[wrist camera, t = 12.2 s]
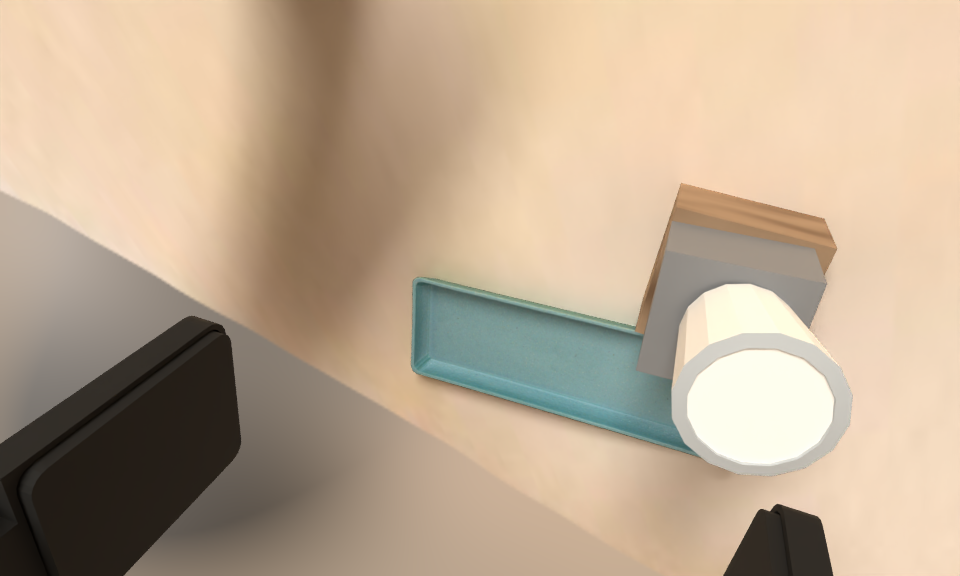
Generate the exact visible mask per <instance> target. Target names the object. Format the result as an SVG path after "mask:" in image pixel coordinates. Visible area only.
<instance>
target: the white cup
mask: <svg viewBox="0 0 960 576" xmlns="http://www.w3.org/2000/svg"><path fill="white" fill-rule="evenodd" d="M671 395H672V420H673V422H674V424H675V426H676V427H677V429H678V431H679V433H680V435H681V437H682V439H683V441H684V443H685V444H686V445H687V446H688V447H690V448H691V449H692V450H693V451H694V452H696V453H697V454H698V455H699V456H700V457H702V458H703V459H704V460H705V461H706V462H707V463H710V464H712V465H715V466H718V467H720V468H723V469H726V470H728V471H731V472H734V473H736V474H742V475H759V476H775V475H780V474H784V473H788V472H792V471H796V470H800V469H804V468H806V467H808V466H809V465H811V464H812V463H814V462H815V461H817V460H819V459H820V458H822V457H823V456H825V455H826V454H828V453H829V452H831V451H832V450H833V449H834V448H835V446H836V445H837V443H838V442H839V440H840V439H841V437H842V436H843V434H844V433H845V431H846V430H847V428H848V427H849V425H850V418H851V408H852V399H853V395H852V392H851V390H850V388H849V385H848V383H847V381H846V378H845V376H844V374H843V371H842V369H841V367H840V366H839V365H838V363H837V362H836V361H835V360H834V359H833V357H832V356H831V355H830V354H829V353H828V352H827V350H826V349H825V348H824V347H823V346H822V344H821V343H820V342H819V341H818V340H817V339H816V337H815V336H814V335H813V334H812V333H811V331H810V330H809V329H808V328H807V327H806V325H805V324H804V323H803V322H802V321H801V320H800V318H799V317H798V316H797V315H796V314H795V312H794V311H793V310H792V309H791V308H790V307H789V305H787V304H786V303H785V302H784V301H783V300H782V299H781V298H779V297H778V296H777V295H776V294H775V293H774V292H772V291H770V290H767V289H764V288H761V287H758V286H755V285H752V284H725V285H723V286H720V287H717V288H715V289H712V290H709V291H707V292H704V293H703V294H702V295H701V296H700V297H698V298H697V299H696V300H695V301H694V302H693V303H692V304H691V305H689V306H688V308H687V310H686V312H685V314H684V316H683V318H682V321H681V323H680V325H679V333H678V341H677V349H676V358H675V366H674V374H673V382H672V391H671Z"/></svg>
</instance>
